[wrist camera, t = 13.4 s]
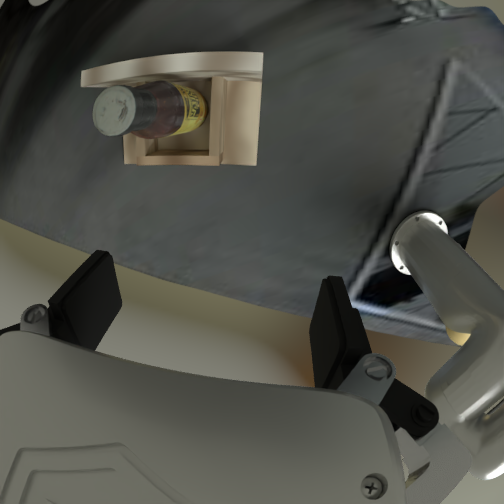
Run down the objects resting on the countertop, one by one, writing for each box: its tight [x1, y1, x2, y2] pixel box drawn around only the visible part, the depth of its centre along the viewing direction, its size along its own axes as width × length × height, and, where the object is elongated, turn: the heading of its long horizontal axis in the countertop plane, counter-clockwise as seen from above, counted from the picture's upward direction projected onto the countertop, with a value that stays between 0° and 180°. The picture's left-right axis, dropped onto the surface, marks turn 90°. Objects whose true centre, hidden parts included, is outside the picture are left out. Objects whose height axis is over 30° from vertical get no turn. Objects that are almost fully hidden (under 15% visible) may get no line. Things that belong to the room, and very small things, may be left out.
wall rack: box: [81, 52, 263, 166], centre depth 30 cm, size 20×14×12 cm
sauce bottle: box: [92, 80, 209, 139], centre depth 25 cm, size 7×6×20 cm
